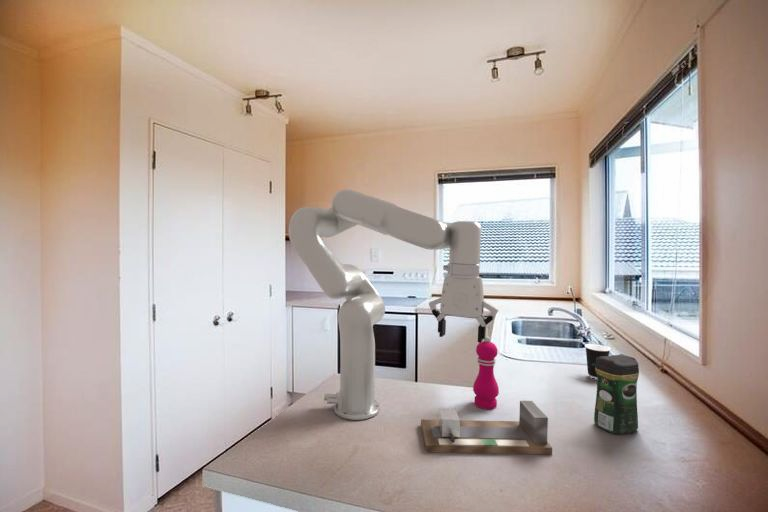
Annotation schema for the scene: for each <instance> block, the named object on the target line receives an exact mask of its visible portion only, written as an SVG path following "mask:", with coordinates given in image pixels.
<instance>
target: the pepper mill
mask: <svg viewBox="0 0 768 512" xmlns="http://www.w3.org/2000/svg"><path fill="white" fill-rule="evenodd" d="M483 340H484V341H482V342H481V343H479V342H478V344H477V346H476V348H475V349H476V350H475V353H476V355H477V356H478V357H477V364H478V367H479V368H478V369H479V370H478V374H477V376H476V378H475V380H474V383H473V385H472V386H473V387H472V390H473V393H474V395H475V396H474V404H475V406H476V407H478V408H481V409H484V410H494V409H496V408H497V407H498V406H497V405H498V400H497V397H498V395H499V394H500V393H499V385H498V382H497V380H496V377H495V374H494V367H495V365H496V359H495V358H496V357H498V354H499V349H498V346H497V345H496V344H495V343H493V342H491V338H490V336H488V335H485V339H483ZM493 408H494V409H493Z"/></svg>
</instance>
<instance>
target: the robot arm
mask: <svg viewBox="0 0 768 512" xmlns="http://www.w3.org/2000/svg"><path fill="white" fill-rule="evenodd" d="M331 201H332V202H331V207H329V208H327V209H326V208H320V207H317V206H303V207H300V208H298V209H297V210H296V211H295V212H294V213H293V214H292V216H290V217H291V218H290V221H289V223H288V238H289V240H290V244H291V247H292V248H293V249H294V252H295V253H296V254H297V256H298V257H299V258H300V259H301V260H302V262H303V263H304V265H305V266H306V269H308V272H309V273H310V274H311V276H312V277H313V278H314V280H315V281H316V282H317V284H318V286H319V287H320V288H321V290H322V292H323V293H324V294H325V295H326V296H327V297H329V298H331V299H334V300H337V299H343V298H344V299H345V301H344V302H343V303H342V305H341V306H340V308H339V311H338V314H337V321H338V329H339V330H338V331H339V338H340V371H339V373H340V375H339V376H340V377H339V378H340V382H339V387H340V389H339V392H335V393H327V392H326V393H324V397H323V400H324V401H325V402H327V403H326V404H330V405H332V404H334V407H333V408H334V409H333V410H334V413H335V414H336V415H337V416H338V417H340V418H343V419H346V420H350V421H351V420H352V421H359V420H367V419H370V418H373V417H374V416H377V414H379V412H380V408H381V407H380V402H378V401H377V400H375V387H376V385H375V384H376V383H375V381H376V379H375V378H376V375H375V373H376V370H375V369H376V368H375V367H376V342H375V341H376V340H375V333H374V328H373V327H374V325H376V324H378V323H379V322H380V321H381V320H382V319H383V318H384V316H385V313H386V306H385V302H384V300H383V298H382V297H381V295H380V294H379V292H378V291H377V289H376V288H375V287H374V286H373V284H372V282H371V281H370V280H369V279H368V277H367V276H366V275H365V273H364V271H362V270H361V269H360V268H358V266H357V265H353V264H349V263H347V264H343V263H342V262H341V261H340V260H339V258H338V257H337V256H336V255H335V253H334V251H333V250H332V249H331V248H330V246H329V245H327V244H326V242H325V241H323V239H321V238H330V237H334V236H337V235H339V234H341V233H344V232H345V231H347V230H349V229H352V228H354V227H355V226H357V225H358V226H362V227H364V228H367V229H369V230H371V231H374V232H376V233H380V234H382V235H383V236H384V235H385V236H389V237H392V238H394V239H397V240H399V241H402V242H405V243H407V244H411V245H414V246H416V247H419V248H422V249H425V250H434V251H435V250H445V249H449V253H448V254H449V255H448V258H449V259H448V264H446V265H445V264H444V265H442V267H443V269H442V270H443V271H446V272H447V274H446V275H445V276H444V280H443V283H442V290H441V297H438V298H436V299H434V300H432V301H429V302H428V306H429V309H430V310H431V313H432V315H433V316H434V318H436V321H437V333H438V334H439V338H442V337H444V336H445V335H446V331H447V329H446V327H447V325H446V324H447V320H446V319H445V318H446V317H447V316H450V317H455V318H456V317H458V318H466V319H475V320H476V321H477V322H478V323H479V325H478V327H477V343H478V344H479V343H481V342H483V340H484V339H485V337H486V334H487V333H486V329H487V328H486V327H487V325H488V324H490V322H492V321H493V320H494V319H495V318H496V315H497V314H498V312H499V309H498V308H497V307H495V306H494V305H492V304H490V303H488V302H487V301H486V300H484V298H485V297H484V296H485V295H484V285H483V284H484V283H483V278H482V277H481V276H480V266H481V265H480V261H481V244H482V240H481V239H482V226H481V224H480V223H479V222H477V221H471V220H470V221H468V220H465V221H462V220H461V221H460V220H459V221H454V222H446V221H441V220H439V219H436V218H433V217H430V216H427V215H423V214H420V213H417V212H415V211H412V210H408V209H405V208H402V207H400V206H398V205H396V204H395V203H393V202H390V201H388V200H384V199H381V198H378V197H375V196H371V195H368V194H365V193H362V192H359V191H357V190H354V189H342V190H339V191H337V192H336V193H335V195H334V197H333V198H332V200H331ZM439 304H440V307H439V308H440V309H437V305H439ZM484 308H485V309H486V310H488V311H489V312H490V313H489V315H488V316H487V317H485V316H484V315H483V314H484Z"/></svg>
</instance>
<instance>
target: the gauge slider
mask: <svg viewBox="0 0 768 512" xmlns="http://www.w3.org/2000/svg"><path fill="white" fill-rule="evenodd" d="M438 420H439V422H438V424H439V428H440V431H441V434H442V437H450V439H451V442H452V443H454V437H460V420H461V419H460V417H459V415H458V412H457V410H456V408H455V407H454V408H453V407H452V408H451V407H438Z"/></svg>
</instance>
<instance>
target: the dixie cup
mask: <svg viewBox="0 0 768 512" xmlns="http://www.w3.org/2000/svg"><path fill="white" fill-rule="evenodd" d="M584 347H585V355H586V364H587V365H586V366H587V374H588V377H589V376H590V377H592V378H596V379H597V373H596V370H595V367H596V358H598V357H600V356H610V351H611V347H609V346H607V345H606V346H605V345H601V344H597V343H596V344H595V343H594V344H593V343H590V344H588V343H587V344H585V345H584ZM590 377H589V378H590ZM592 378H591V379H592Z"/></svg>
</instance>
